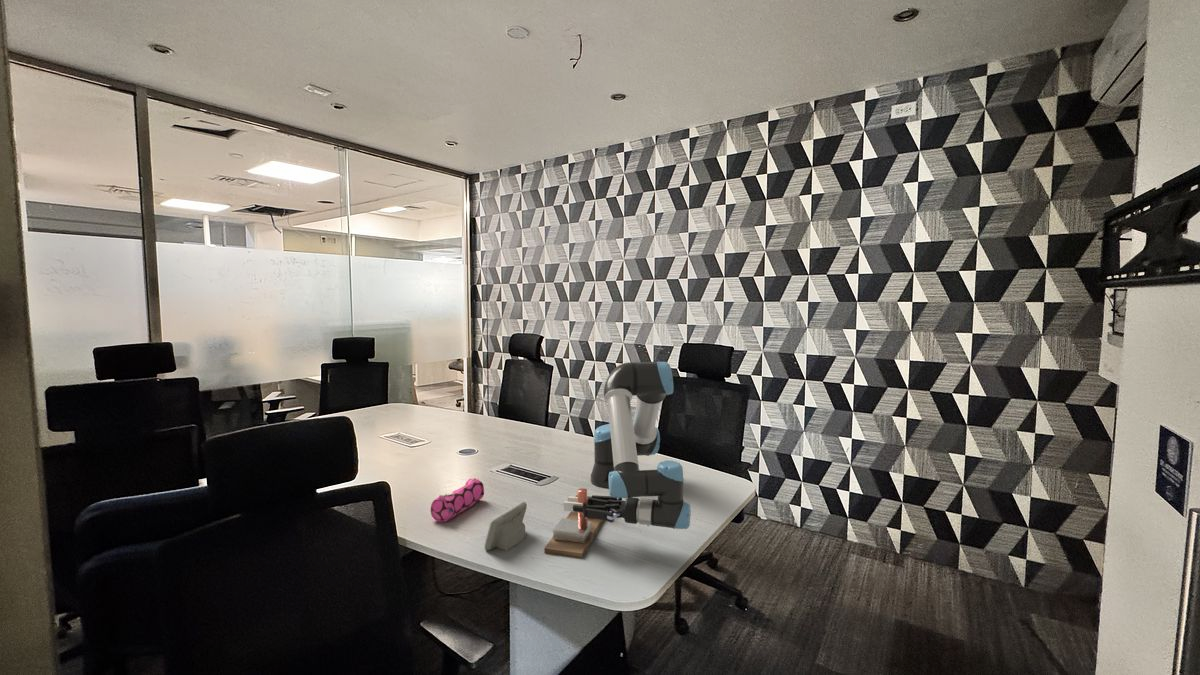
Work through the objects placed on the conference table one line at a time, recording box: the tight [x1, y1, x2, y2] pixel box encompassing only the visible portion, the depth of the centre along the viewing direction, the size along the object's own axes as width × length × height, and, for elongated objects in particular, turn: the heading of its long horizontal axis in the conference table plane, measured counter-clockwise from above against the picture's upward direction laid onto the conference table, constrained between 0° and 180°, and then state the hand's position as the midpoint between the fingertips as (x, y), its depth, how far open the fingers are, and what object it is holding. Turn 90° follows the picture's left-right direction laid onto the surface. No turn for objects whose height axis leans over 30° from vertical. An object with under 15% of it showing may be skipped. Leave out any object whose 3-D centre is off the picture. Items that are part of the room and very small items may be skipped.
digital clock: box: [483, 501, 528, 551], centre depth 151 cm, size 16×9×11 cm, turn 138°
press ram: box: [552, 487, 591, 543], centre depth 151 cm, size 8×10×15 cm
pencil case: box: [430, 478, 485, 523], centre depth 174 cm, size 21×10×10 cm, turn 160°
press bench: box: [543, 494, 604, 559], centre depth 157 cm, size 30×12×6 cm, turn 165°
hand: (566, 503), depth 151 cm, fingers closed on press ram, 3 cm apart
